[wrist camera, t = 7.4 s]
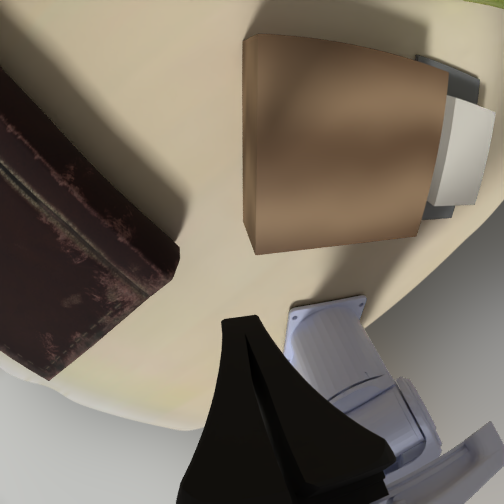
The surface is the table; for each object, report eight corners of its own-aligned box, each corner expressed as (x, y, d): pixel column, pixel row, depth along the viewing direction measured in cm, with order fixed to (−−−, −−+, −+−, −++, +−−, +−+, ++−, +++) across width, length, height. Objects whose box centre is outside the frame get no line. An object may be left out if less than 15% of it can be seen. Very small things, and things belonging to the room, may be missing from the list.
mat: (449, 216, 25) (451, 217, 24) (390, 220, 23) (392, 222, 23) (477, 79, 17) (479, 79, 16) (415, 54, 15) (418, 55, 15)
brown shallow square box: (388, 210, 23) (416, 236, 20) (243, 221, 21) (255, 255, 18) (410, 65, 16) (448, 72, 13) (242, 41, 14) (258, 33, 11)
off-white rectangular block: (434, 206, 21) (419, 195, 22) (474, 204, 22) (461, 194, 23) (455, 97, 15) (437, 92, 17) (495, 112, 16) (479, 106, 18)
